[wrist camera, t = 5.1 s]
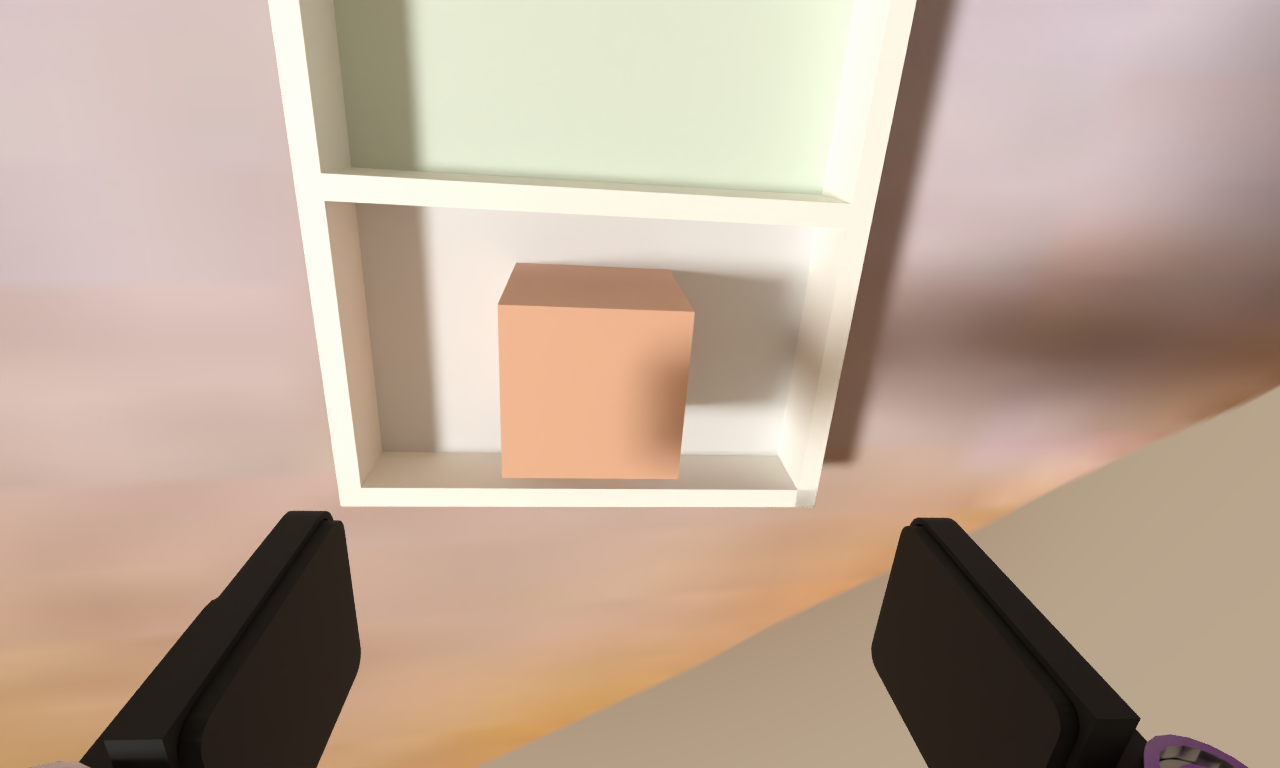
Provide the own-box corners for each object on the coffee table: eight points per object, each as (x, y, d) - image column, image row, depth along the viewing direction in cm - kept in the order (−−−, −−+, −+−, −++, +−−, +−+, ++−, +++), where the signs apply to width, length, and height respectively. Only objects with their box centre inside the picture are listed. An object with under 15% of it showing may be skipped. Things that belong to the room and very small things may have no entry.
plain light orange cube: (516, 263, 20) (497, 304, 15) (668, 269, 21) (694, 311, 16) (518, 403, 22) (501, 477, 17) (657, 406, 22) (678, 479, 18)
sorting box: (284, -250, 15) (220, -332, 12) (900, -171, 17) (963, -228, 14) (369, 460, 23) (340, 506, 20) (787, 464, 25) (814, 506, 22)
